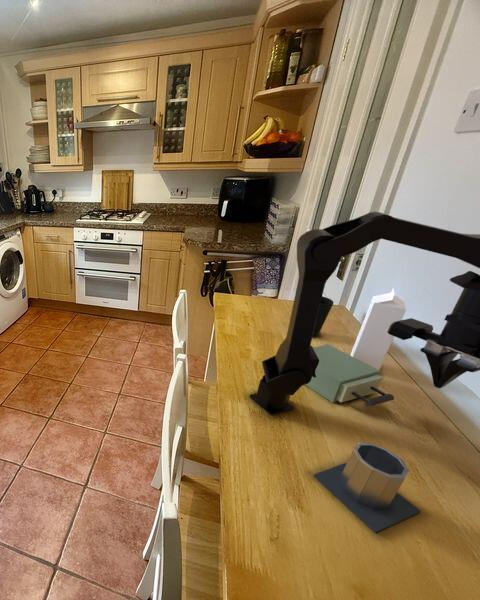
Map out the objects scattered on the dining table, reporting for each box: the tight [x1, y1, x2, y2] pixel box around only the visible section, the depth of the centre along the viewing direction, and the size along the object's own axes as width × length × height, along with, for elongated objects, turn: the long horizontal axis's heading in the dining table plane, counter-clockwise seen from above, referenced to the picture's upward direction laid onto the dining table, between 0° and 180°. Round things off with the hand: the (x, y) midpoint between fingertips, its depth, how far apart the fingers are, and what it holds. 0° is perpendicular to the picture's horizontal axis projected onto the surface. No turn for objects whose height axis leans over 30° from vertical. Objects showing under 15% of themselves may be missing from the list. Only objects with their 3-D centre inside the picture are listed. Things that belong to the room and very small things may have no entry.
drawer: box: [336, 374, 395, 407], centre depth 76 cm, size 16×11×4 cm
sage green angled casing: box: [304, 343, 381, 404], centre depth 80 cm, size 13×13×6 cm
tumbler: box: [339, 442, 410, 510], centre depth 52 cm, size 6×7×8 cm
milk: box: [349, 287, 407, 371], centre depth 82 cm, size 6×6×22 cm
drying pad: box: [313, 462, 421, 534], centre depth 53 cm, size 10×10×1 cm
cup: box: [312, 295, 335, 338], centre depth 101 cm, size 8×8×12 cm
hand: (438, 387), depth 60 cm, fingers closed
